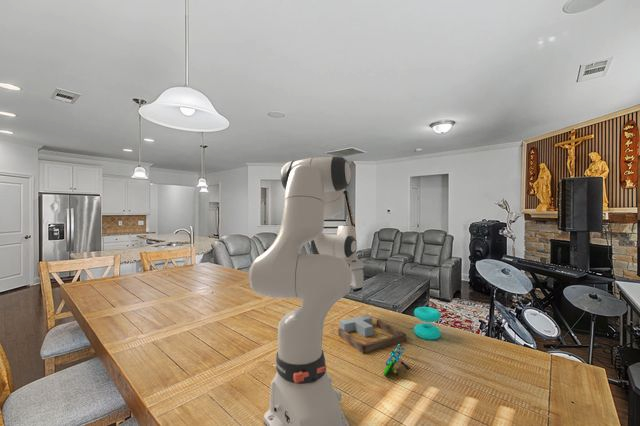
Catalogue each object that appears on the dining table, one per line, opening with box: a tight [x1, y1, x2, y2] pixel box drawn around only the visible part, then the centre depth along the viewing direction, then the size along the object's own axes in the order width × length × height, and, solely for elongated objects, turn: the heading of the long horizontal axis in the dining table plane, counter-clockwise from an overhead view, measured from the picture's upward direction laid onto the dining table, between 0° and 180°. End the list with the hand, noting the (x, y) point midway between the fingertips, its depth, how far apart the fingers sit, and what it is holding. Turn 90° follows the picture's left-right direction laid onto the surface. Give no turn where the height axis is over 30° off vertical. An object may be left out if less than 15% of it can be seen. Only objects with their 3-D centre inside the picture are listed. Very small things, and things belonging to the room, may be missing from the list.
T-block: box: [338, 314, 374, 338], centre depth 115 cm, size 11×14×4 cm
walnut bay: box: [337, 318, 407, 354], centre depth 109 cm, size 16×20×2 cm
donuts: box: [413, 306, 442, 341], centre depth 111 cm, size 10×10×10 cm
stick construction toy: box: [383, 343, 411, 376], centre depth 87 cm, size 12×7×8 cm
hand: (346, 292), depth 125 cm, fingers closed
